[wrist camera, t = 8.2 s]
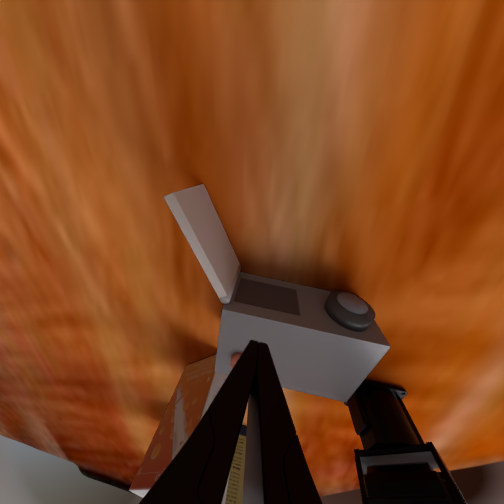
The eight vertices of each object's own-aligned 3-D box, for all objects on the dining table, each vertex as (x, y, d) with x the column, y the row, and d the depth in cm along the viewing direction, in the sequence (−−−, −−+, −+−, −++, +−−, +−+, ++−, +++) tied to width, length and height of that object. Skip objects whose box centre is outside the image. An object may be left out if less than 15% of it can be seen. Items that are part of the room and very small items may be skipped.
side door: (194, 187, 17) (161, 197, 12) (204, 183, 17) (173, 192, 12) (234, 271, 21) (221, 304, 16) (242, 269, 20) (231, 302, 15)
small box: (221, 350, 27) (179, 490, 16) (246, 373, 29) (225, 515, 17) (184, 364, 30) (126, 492, 18) (210, 385, 32) (171, 513, 20)
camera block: (366, 286, 19) (405, 341, 13) (330, 349, 24) (347, 409, 18) (238, 259, 20) (222, 300, 14) (228, 326, 25) (212, 377, 19)
